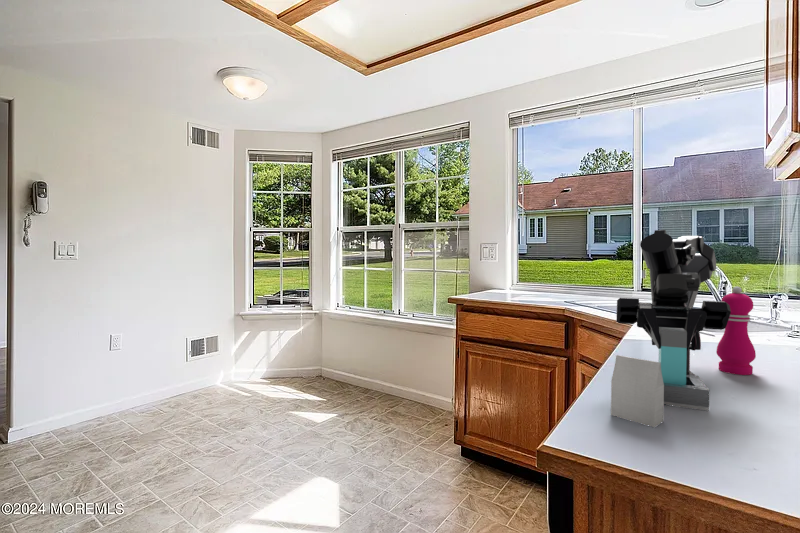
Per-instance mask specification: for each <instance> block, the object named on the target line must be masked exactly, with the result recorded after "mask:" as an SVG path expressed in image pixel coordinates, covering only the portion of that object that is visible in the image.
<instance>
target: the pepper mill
mask: <svg viewBox="0 0 800 533" xmlns="http://www.w3.org/2000/svg"><path fill="white" fill-rule="evenodd" d="M731 291H732V293H727V294H725V295H724V296H723V297H722V298H721V299H720V301H723V302H726V303H728V304H729V305H730V310H731V313H730V316H729V320H728V323H727V326H726V328H725V329H724V332H723V335H722V336H721V338H720V340H719V342H718V343H717V346H716V355H717V357H718V358H720V360H721V361H719V362H718V370H719V371H721V372H723V373H726V374H732V375H737V376H751V375H753V369H754V367H753V366H752V365H751V363H752V362H754V361H755V359H756V358H757V357H756V356H757V354H756V350H755V346H754V344H753V343H752V341H751V339H750V337H749V332H748V331H749V330H748V325H749V322H750V321H751V315H750V312H751V311H753V309H754V302H753V299H752V298H751V297H750V296H749V295H747V294H745V293H742V292H743V290H742V288H741V287H740V286H737V285H736V286H734V287H732V290H731Z"/></svg>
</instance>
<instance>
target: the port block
mask: <svg viewBox="0 0 800 533" xmlns="http://www.w3.org/2000/svg"><path fill="white" fill-rule="evenodd" d="M664 404H666V405H665V406H668V405H671V406H670V407H676V406H677V407H676V408H686V409H691V408H693V410H701V411H706V412H708V411H709V412H710V389H709V387H707V385H706V384H705V382H703V381H702V379H701V378H700V377H699V375H696V374H695V375H686V385H680V384H671V383H664ZM672 405H673V406H672Z"/></svg>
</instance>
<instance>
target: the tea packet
mask: <svg viewBox="0 0 800 533" xmlns="http://www.w3.org/2000/svg"><path fill="white" fill-rule="evenodd" d="M610 382H611V388H610V416H612V415H613V416H612V417H615V416H617V418H619V417H620V419H623V420H626V419H627V421H630V420H631V422H633V421H635V422H634V423H637V422H638V423H637V424H640V423H642V424H641V425H644V424H645V425H644V426H647V425H649V426H648V427H651V426H652V427H651V428H654V427H655V428H656V427H657V425H658V426H659V425H660V423H661V422H662V423H664V410H665V409H664V406H665V405H664V383H663V378H662V371H661V363H660V362H659V361H654V360H649V359H648V360H647V359H641V358H636V357H631V356H627V355H626V356H625V355H619V354H617V355H615V361H614V368H613V372H612V376H611V381H610ZM662 423H661V424H662Z"/></svg>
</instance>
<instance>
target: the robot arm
mask: <svg viewBox="0 0 800 533" xmlns="http://www.w3.org/2000/svg"><path fill="white" fill-rule="evenodd" d="M640 250H641V252H642V256H643V258H644V262H645V265H646V268H647V269H648V270H649V279H650V281H649V282H650V293H651V294H650V295H651V302H640V298H638V297H619V298H618V299H617V300H616V323H618V324H623V325H635V324H636V327H638V328H642V329H643V330H644V331H645V332H646V334H648V336H649V337H650V338H651V344H652V346H656V348H657V349H658V350H659V349H661V338H660V333H659V327H670V328H683V329H685V330H686V331H687V359H686V375H695V376H696V374H695V373H694V372H692V371H691V370H690V366H691V351H694V352H695V351H701V349H702V346H701V345H702V344H701V342H702V340H701V334H700V332H702V331H703V330H704V329H706V330H720V331H721V330H725V328H726V326H727V323H728V320H729V316H730V313H731V310H730V305H729V304H728V303H726V302H723V301H721V300H720V301H719V300H718V301H717V300H716V301H715V300H703V301H702V304H701V308H697V307H694V306H695V302H696V299H697V296H698V293H699V289H700V286H701V284H702V283H704V282H706V281H708V280H710V279H711V278H712V275H713V272H716V270H717V257H716V255H715V254H716V253H715V250H714V249H713V247H710V245H708V244H707V243H705V241H704V237H703V236H700V235H682V236H679V237H677V238H675V239H673V237H672V236H671V235H669V234H667V230H666V229H659V230H657V229H655V230H654V232H653V233H652V234H649V235H647V236H645V237H644V238H643V239H642V240H641V241H640ZM697 252H698V253H697Z"/></svg>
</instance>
